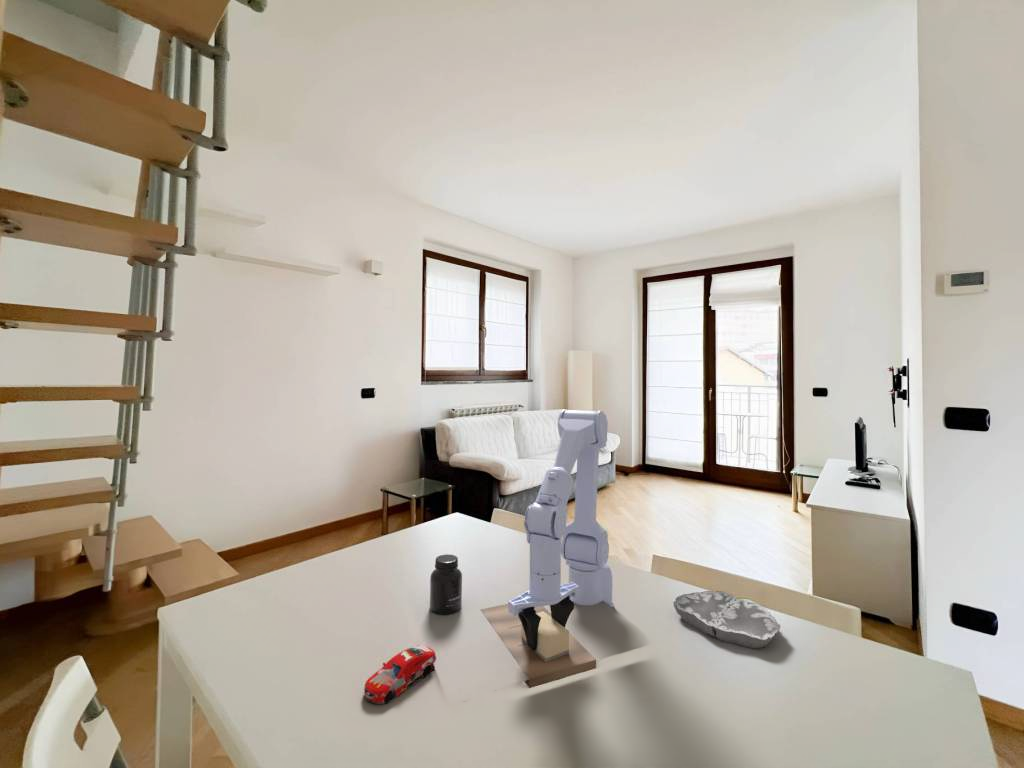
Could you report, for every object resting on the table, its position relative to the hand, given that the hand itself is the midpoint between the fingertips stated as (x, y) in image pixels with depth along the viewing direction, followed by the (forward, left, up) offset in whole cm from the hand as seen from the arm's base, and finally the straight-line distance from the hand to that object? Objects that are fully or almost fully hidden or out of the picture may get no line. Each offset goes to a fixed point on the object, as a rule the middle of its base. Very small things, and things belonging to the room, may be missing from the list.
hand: (544, 642), depth 81 cm
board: (0, -5, -2) cm, 5 cm away
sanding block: (0, 0, -1) cm, 1 cm away
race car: (+26, -3, -3) cm, 26 cm away
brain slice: (-40, +5, -3) cm, 40 cm away
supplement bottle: (+13, -21, -2) cm, 25 cm away
